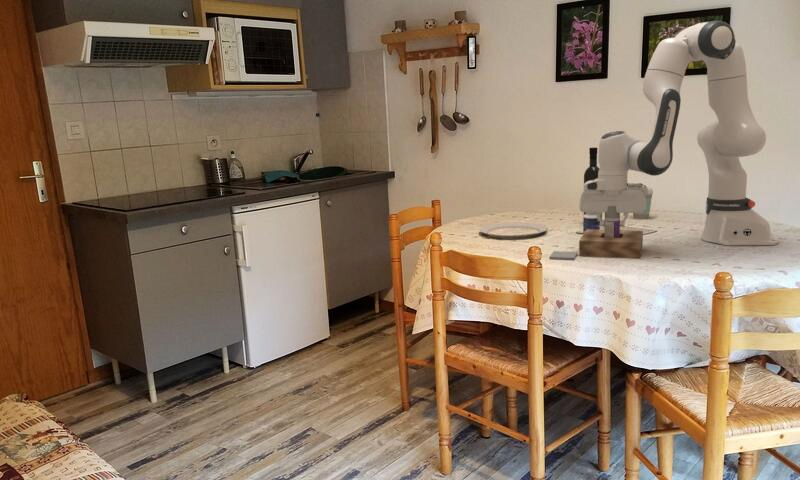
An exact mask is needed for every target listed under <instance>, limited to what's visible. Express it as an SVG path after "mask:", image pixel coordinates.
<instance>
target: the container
mask: <svg viewBox="0 0 800 480" xmlns="http://www.w3.org/2000/svg"><path fill="white" fill-rule="evenodd" d="M620 215H621V213H617V211H616V206H608V209H607V212H604V220H605V226H603V228H604V229H603V230H604V238H620V230H621V226H620V220H621V218H620Z"/></svg>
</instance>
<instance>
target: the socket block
mask: <svg viewBox="0 0 800 480" xmlns="http://www.w3.org/2000/svg"><path fill="white" fill-rule="evenodd" d="M643 236H644V230H633V229H632V230H627V229H626V230H624V229H620V238H604V229H600V230H595V229H587V230H586V231H585V233H584V234H583V233H582V236H581V238H580V239H579V240H578V248H579V249H578V256H579V257H594V258H596V257H597V258H598V257H599V258H603V257H604V258H621V259H622V258H623V259H641V254H642V249H643V246H644V245H643V244H644V240H643V239H644V237H643Z"/></svg>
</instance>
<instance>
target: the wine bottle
mask: <svg viewBox="0 0 800 480" xmlns="http://www.w3.org/2000/svg"><path fill="white" fill-rule="evenodd" d="M588 150H589V153H588V154H589V166H588V167H587V168H586V169H585V171H584V174H583V185H584V184H585V183H586V182H587V181H590V180H593V179H597V178H598V172H599V168H600V167H599V166H598V150H599V147H589V149H588ZM585 214H586V213H585V212H583V216H584V215H585ZM600 217H601V218H602V219H603V212H601V215H600Z"/></svg>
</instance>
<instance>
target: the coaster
mask: <svg viewBox="0 0 800 480" xmlns="http://www.w3.org/2000/svg"><path fill="white" fill-rule="evenodd" d="M577 256H579V251H578V252H577V251H562V250H561V251H558V250H553V252H552V253H551V254H550V256H549V260H560V261H575V259H576V258H577Z"/></svg>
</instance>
